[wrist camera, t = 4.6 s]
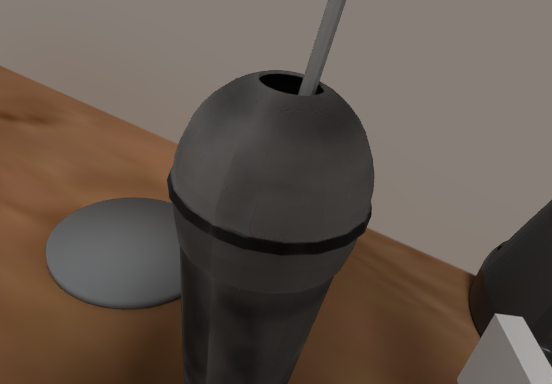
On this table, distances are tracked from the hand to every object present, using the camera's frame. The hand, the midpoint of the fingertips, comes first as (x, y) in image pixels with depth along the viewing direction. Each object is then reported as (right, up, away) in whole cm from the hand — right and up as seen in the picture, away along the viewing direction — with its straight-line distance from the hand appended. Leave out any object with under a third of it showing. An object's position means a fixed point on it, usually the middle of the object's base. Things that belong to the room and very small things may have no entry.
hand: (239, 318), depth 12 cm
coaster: (-8, 0, +18) cm, 19 cm away
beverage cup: (-1, -6, +11) cm, 12 cm away
